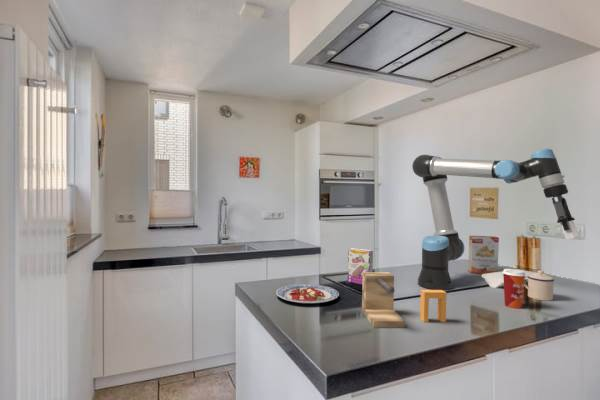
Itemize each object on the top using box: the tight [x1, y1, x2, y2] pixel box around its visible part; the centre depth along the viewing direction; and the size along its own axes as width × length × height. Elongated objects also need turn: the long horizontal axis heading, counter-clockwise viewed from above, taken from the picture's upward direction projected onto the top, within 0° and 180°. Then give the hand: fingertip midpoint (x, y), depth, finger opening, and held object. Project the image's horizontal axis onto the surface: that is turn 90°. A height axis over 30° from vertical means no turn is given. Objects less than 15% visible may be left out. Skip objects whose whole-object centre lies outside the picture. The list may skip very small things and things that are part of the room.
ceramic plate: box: [276, 283, 340, 305], centre depth 136 cm, size 26×26×3 cm
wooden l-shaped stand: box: [361, 271, 406, 329], centre depth 112 cm, size 17×10×14 cm, turn 3°
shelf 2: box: [481, 268, 536, 289], centre depth 162 cm, size 12×30×5 cm, turn 117°
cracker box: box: [467, 235, 500, 275], centre depth 186 cm, size 14×6×21 cm, turn 81°
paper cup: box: [502, 268, 526, 310], centre depth 128 cm, size 8×8×14 cm
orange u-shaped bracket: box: [419, 289, 447, 323], centre depth 111 cm, size 3×8×10 cm, turn 93°
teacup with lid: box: [524, 269, 555, 302], centre depth 141 cm, size 12×9×12 cm
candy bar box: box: [347, 247, 374, 286], centre depth 159 cm, size 11×5×16 cm, turn 58°
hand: (572, 237), depth 128 cm, fingers open, 13 cm apart
